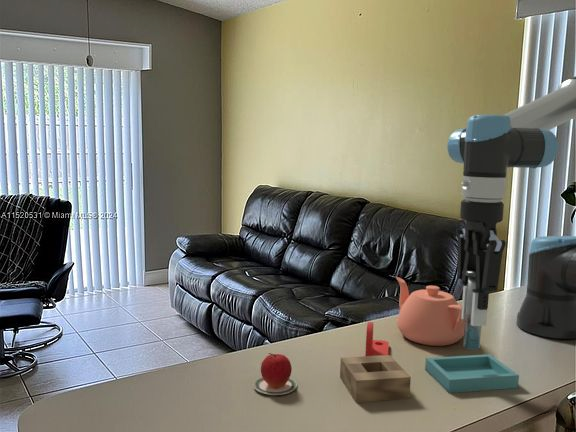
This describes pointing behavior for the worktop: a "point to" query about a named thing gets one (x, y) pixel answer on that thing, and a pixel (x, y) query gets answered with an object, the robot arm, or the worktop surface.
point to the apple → (275, 376)
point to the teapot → (429, 316)
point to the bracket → (375, 343)
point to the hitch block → (374, 378)
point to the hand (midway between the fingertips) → (473, 321)
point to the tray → (471, 373)
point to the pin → (470, 332)
